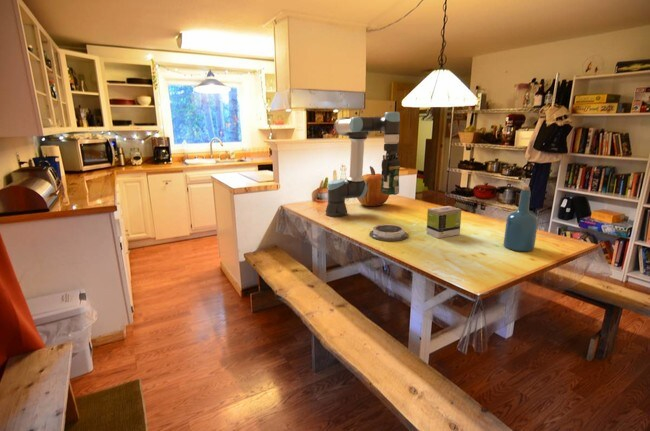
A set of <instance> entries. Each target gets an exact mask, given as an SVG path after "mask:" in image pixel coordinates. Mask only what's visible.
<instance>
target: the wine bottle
mask: <svg viewBox="0 0 650 431" xmlns="http://www.w3.org/2000/svg"><path fill="white" fill-rule="evenodd" d="M530 188H531V187H530V186H526V185H525V186H523V187H522V189H521V190H520V195H519V202H518V207H517V209H516V210H515V211H512V212H509V213H508V215H507V217H506V222H505V230H504V237H503V238H504V239H503V246H504V247H505V248H506V249H508V250H511V251H515V252H531V251H534V250H535V245H536V244H535V243H536V238H537V232H538V226H539V225H538V223H539V219H538V215H537V214H536V213H534V212H533V211H532V210H530V200H531V199H530V198H531V197H532V196H531V189H530Z"/></svg>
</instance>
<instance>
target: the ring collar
mask: <svg viewBox="0 0 650 431" xmlns="http://www.w3.org/2000/svg"><path fill="white" fill-rule="evenodd" d="M368 236H369V238H371V239H374V240H375V241H380V242H400V241H404V240H406V239H408V238H409V233H408V232H407V231H406V229H405V227H403V226H401V225H398V224H392V223H391V224H389V223H388V224H387V223H386V224H385V223H384V224H376V225H375V226H373V227H372V230H371V231H370V232H369V235H368Z"/></svg>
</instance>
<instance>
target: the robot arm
mask: <svg viewBox="0 0 650 431" xmlns="http://www.w3.org/2000/svg"><path fill="white" fill-rule="evenodd" d="M400 123H401V114H400V112H399V111H386V112H385V113H384V116H348V117H347V116H345V117H344V116H343V117H339V118H337V119H336V120H335V122H334V123H333V129H334V131H335V133H336V134H338V135H340V136H342V137H343V136H344V137H348V139H349V140H350V162H349V176H347V179H346V181H345V179H334V180H330V181H328V184H327V205H326V207H325V208H326V209H325V215H326V216H327V217H328V216H329V217H335V218H336V217H345V216H347V215H348V208H347V205H346V200H347V199H357V198H360V197H364V195H365V194H366V192H367V183H366V181H364V178H363V177H362V176H363V173H364V171H363V167H364V151H365V150H364V149H365V141H366V140H367V138H368V137H367V136H370V134H371V132H384V134H383V135H384V136H383V143H384V145H383V151H384V152H386V153H385V154H383V155H382V160H383V165H382V164H381V165H382V167H381V174H382V175H384V186H383V188H389V176H388V174H389V166H388V161H389V160H391V161H392V159H397V160H399V157H400V156H399V155H400V154H399V153H397V152H398V151H399V149H400V148H399V147H400V144H399V142H400V127H401V126H400V125H401V124H400Z"/></svg>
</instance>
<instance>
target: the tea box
mask: <svg viewBox="0 0 650 431" xmlns="http://www.w3.org/2000/svg"><path fill="white" fill-rule="evenodd" d="M426 216H427V217H426V218H427V220H426V234H427V235H429V236H432V237H434V238H437V239H441V238H446V237H452V236H459V235H460V234H461V225H462V224H461V222H462V209H461V208H459V207H455V206H451V205H446V206H445V205H444V206H439V207H438V206H437V207H436V206H435V207H431V208H427V215H426Z"/></svg>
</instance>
